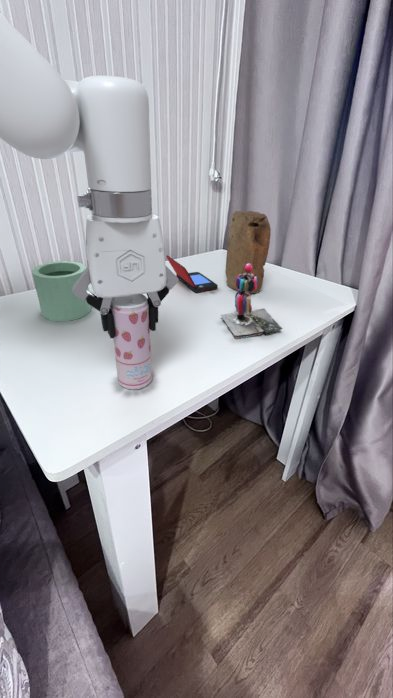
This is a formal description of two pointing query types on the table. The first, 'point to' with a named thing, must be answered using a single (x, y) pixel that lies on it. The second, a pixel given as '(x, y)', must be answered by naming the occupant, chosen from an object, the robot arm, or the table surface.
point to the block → (247, 246)
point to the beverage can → (132, 340)
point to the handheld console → (192, 278)
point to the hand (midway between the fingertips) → (131, 329)
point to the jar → (59, 290)
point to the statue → (248, 310)
